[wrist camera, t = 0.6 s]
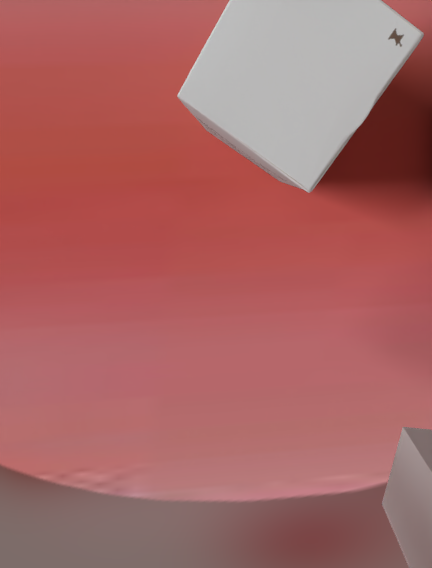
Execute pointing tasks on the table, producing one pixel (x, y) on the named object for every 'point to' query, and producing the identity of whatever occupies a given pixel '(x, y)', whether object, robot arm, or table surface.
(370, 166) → the table surface
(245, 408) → the table surface
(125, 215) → the table surface
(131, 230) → the table surface
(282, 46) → the supplement box
